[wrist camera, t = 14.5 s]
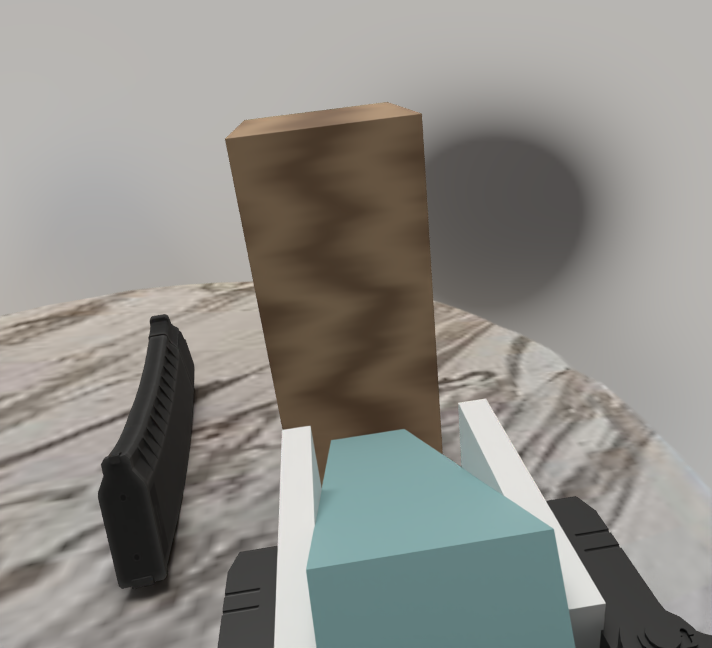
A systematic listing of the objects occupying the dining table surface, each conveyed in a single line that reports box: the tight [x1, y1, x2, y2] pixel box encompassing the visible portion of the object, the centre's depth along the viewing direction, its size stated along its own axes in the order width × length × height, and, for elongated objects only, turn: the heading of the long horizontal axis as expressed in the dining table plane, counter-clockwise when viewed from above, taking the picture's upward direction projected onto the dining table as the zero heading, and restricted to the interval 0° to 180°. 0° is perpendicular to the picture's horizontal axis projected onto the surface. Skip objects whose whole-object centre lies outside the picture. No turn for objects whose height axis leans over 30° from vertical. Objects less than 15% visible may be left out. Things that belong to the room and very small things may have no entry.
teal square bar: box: [306, 429, 575, 648], centre depth 20 cm, size 4×22×4 cm, turn 6°
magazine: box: [98, 314, 194, 589], centre depth 52 cm, size 17×3×30 cm
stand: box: [225, 102, 443, 488], centre depth 40 cm, size 12×14×30 cm
